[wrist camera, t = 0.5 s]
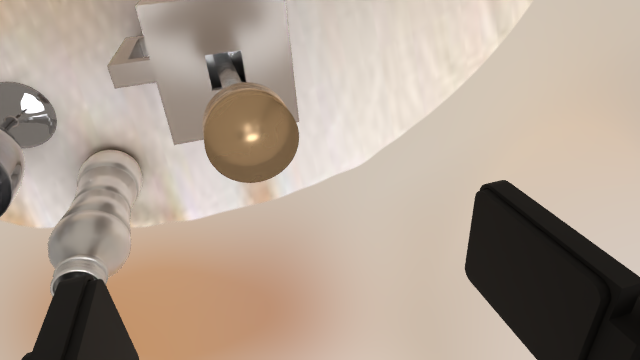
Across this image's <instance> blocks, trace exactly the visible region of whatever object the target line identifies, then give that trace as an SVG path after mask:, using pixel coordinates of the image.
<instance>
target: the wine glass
mask: <svg viewBox="0 0 640 360" xmlns="http://www.w3.org/2000/svg"><path fill="white" fill-rule="evenodd" d="M56 123H57V120H56V114H55V111H54V109H53V107H52V105H51V104H50V102H49V101H48V100H47V99H46V98H45V97H44V96H43V95H42V94H41V93H39V92H38V91H36V90H35V89H33V88H31V87H29V86H26V85H23V84H20V83H15V82H0V217H1V216H2V215H3V214H4V213H5V211H6V210H7V209H8V207H9V206H10V205H11V203H12V201H13V200H14V198H15V197H16V195H17V193H18V191H19V189H20V186H21V183H22V180H23V177H24V170H25V158H24V153H23V150H22V148H31V147H35V146H38V145H41V144H43V143H44V142H46V141H48V140H49V139H50V138H51V136H52V135H53V133H54V131H55V129H56Z"/></svg>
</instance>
